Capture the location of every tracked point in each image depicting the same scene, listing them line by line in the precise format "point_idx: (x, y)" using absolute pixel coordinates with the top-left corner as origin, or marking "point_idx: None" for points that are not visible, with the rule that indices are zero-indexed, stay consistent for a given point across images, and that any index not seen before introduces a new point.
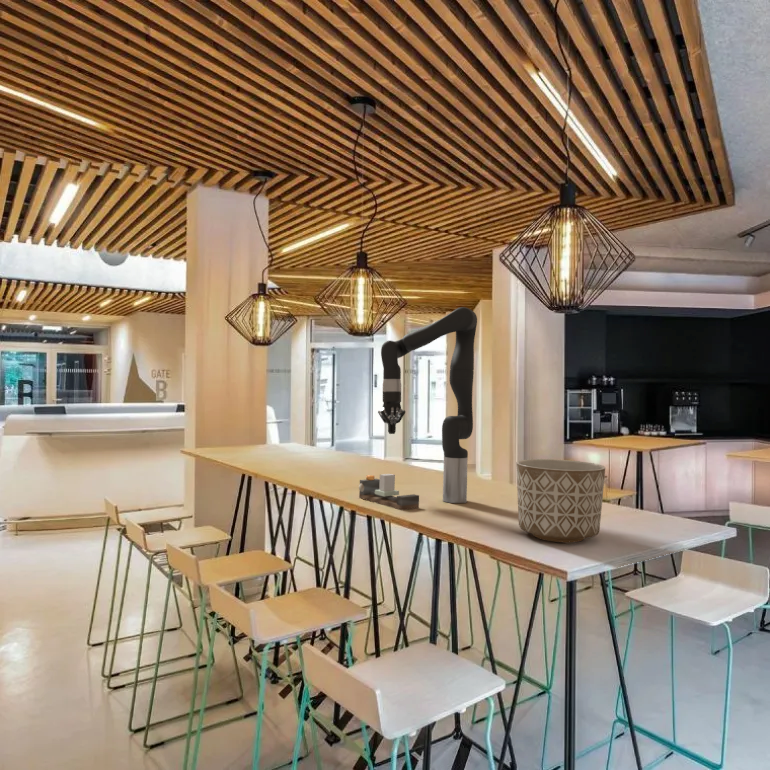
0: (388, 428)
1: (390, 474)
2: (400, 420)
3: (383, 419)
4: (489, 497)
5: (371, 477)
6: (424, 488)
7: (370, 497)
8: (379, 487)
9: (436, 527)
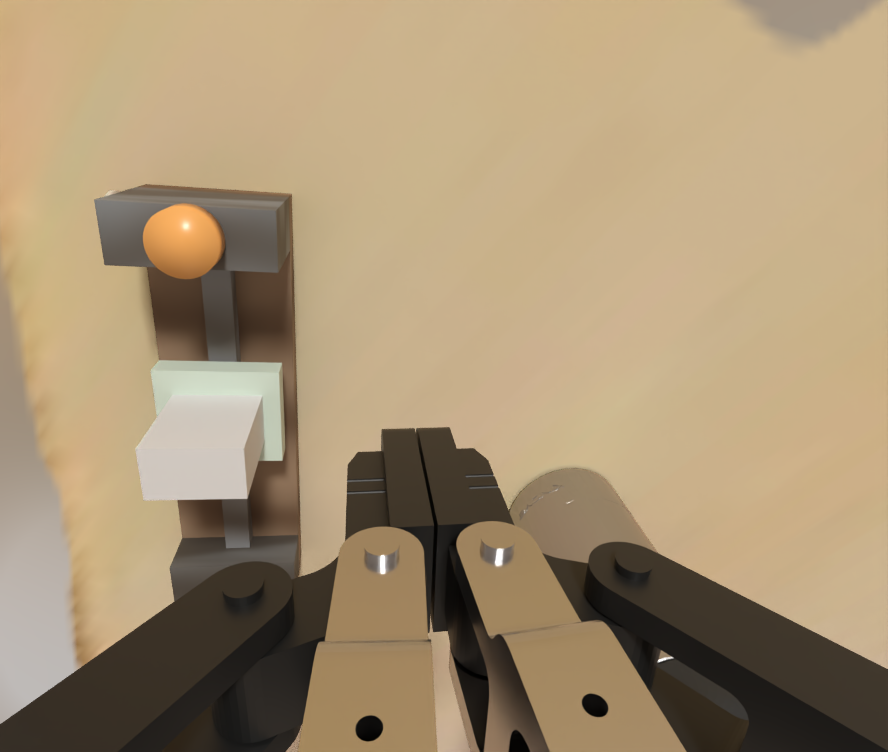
0: (346, 510)
1: (222, 477)
2: (668, 704)
3: (139, 675)
4: (765, 516)
5: (174, 274)
6: (770, 143)
7: (155, 317)
8: (167, 403)
9: None
